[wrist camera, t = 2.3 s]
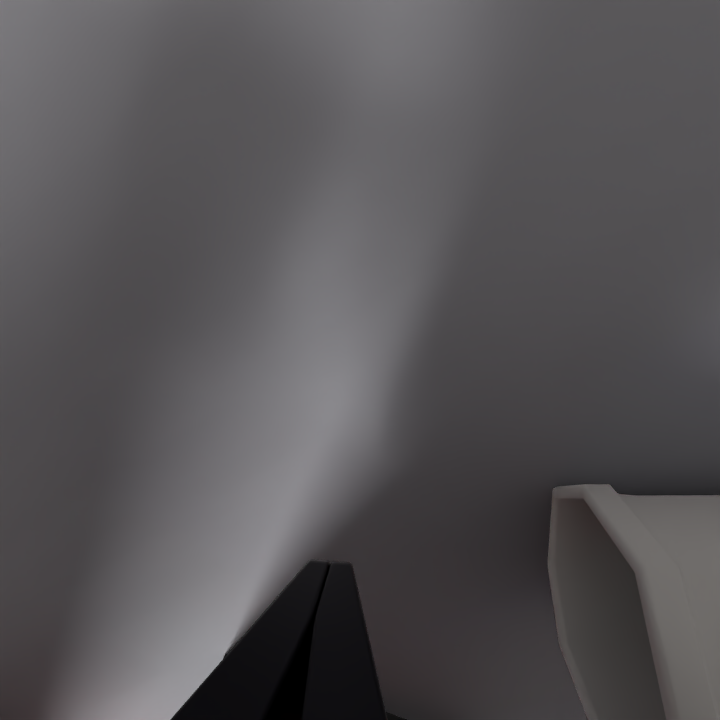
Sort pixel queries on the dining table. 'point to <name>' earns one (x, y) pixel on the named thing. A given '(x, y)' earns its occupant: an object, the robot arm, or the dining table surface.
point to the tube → (638, 601)
